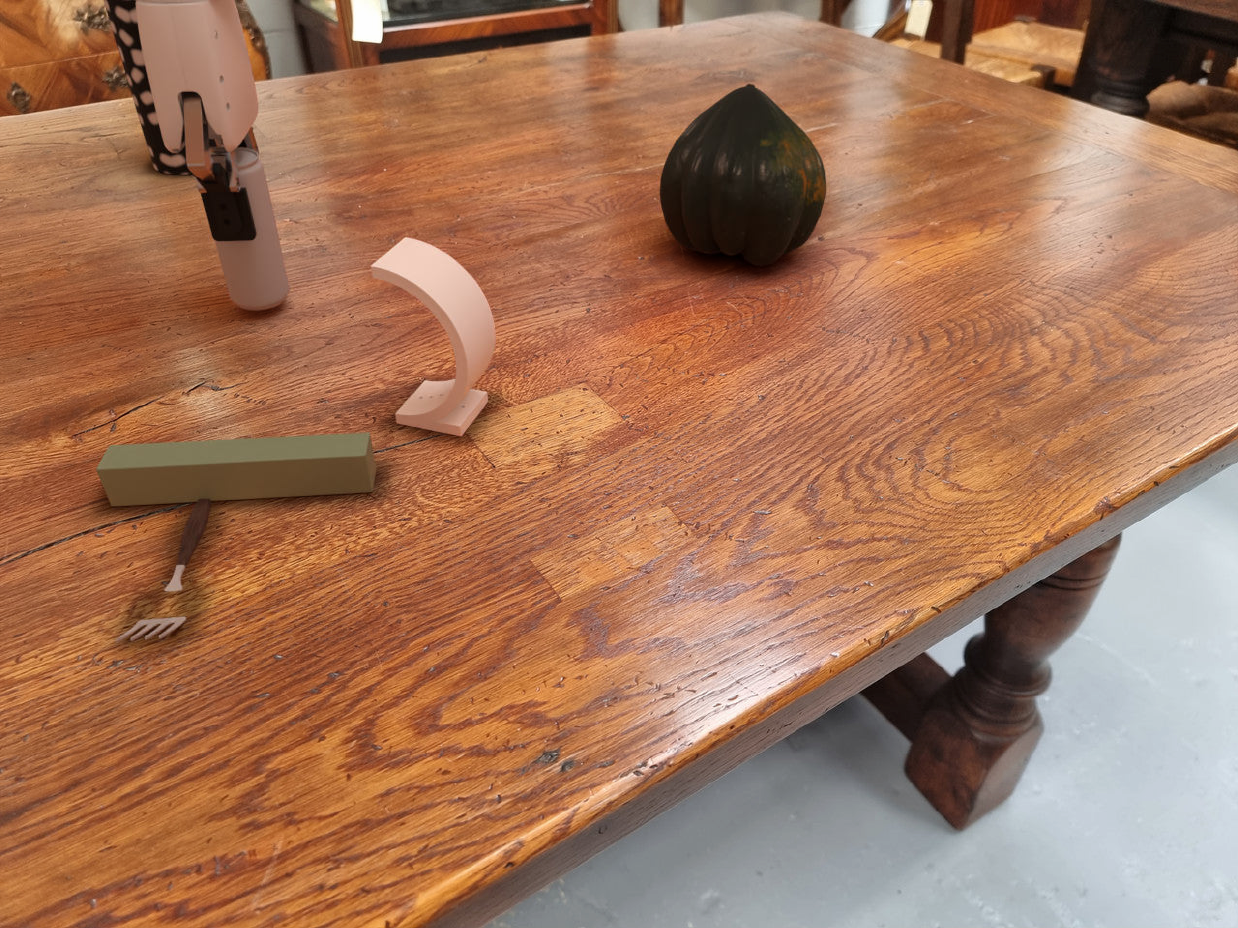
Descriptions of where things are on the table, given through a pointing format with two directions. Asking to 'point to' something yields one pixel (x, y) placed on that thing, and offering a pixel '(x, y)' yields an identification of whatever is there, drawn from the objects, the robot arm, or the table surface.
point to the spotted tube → (143, 86)
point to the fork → (177, 570)
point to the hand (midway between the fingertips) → (242, 222)
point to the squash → (743, 180)
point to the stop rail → (238, 469)
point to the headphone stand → (462, 320)
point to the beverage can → (254, 244)
